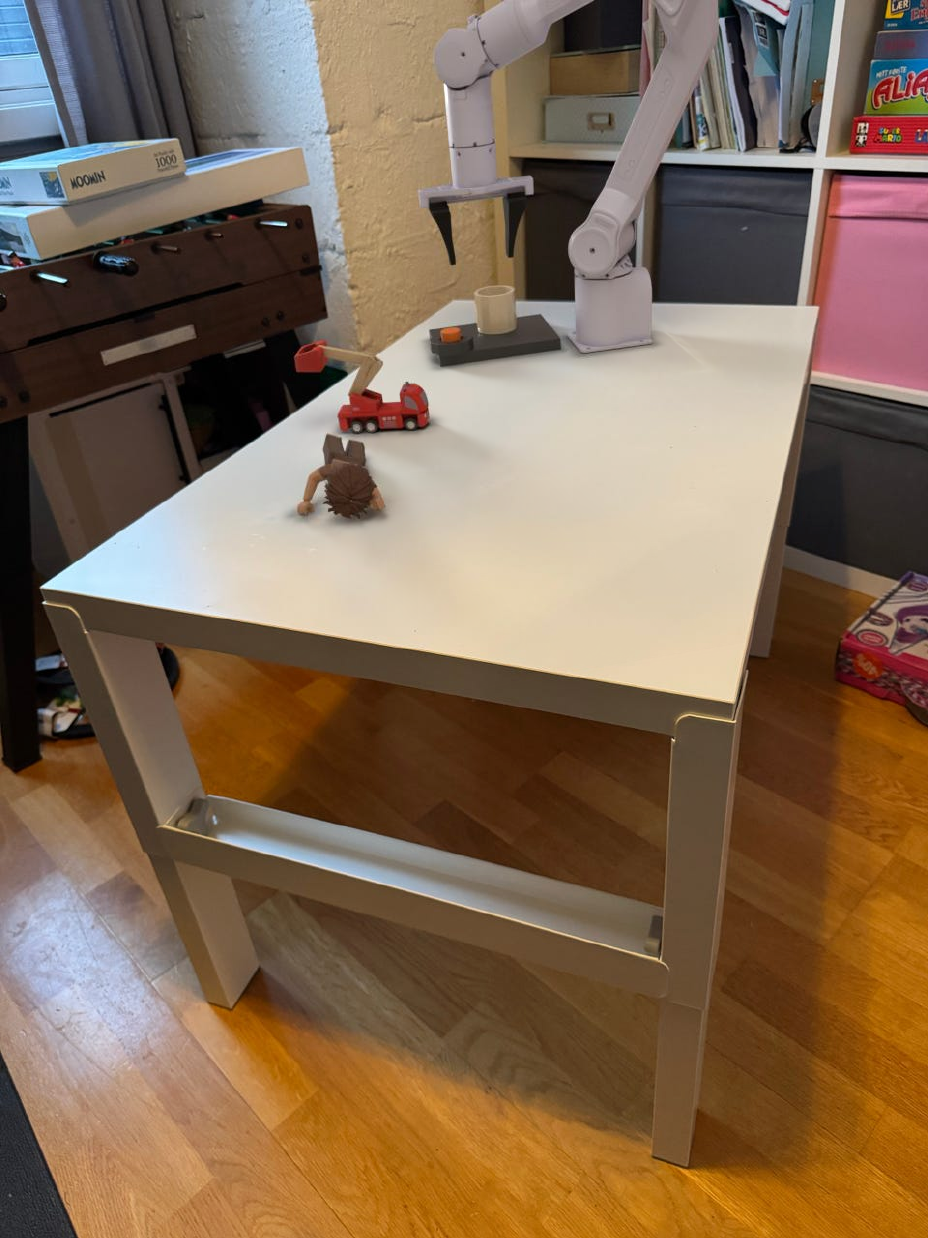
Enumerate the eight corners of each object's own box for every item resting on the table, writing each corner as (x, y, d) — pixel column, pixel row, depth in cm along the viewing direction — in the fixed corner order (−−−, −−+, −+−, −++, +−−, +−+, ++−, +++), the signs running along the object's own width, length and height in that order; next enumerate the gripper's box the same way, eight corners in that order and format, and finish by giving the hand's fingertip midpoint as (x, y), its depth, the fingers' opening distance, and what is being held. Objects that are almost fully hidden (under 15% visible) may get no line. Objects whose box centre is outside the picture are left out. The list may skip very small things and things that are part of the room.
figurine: (302, 487, 93) (304, 545, 80) (283, 441, 90) (281, 493, 77) (375, 462, 93) (388, 516, 80) (358, 415, 90) (369, 463, 77)
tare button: (459, 336, 116) (458, 325, 115) (462, 342, 113) (461, 331, 113) (440, 339, 115) (439, 328, 115) (442, 344, 113) (441, 334, 113)
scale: (541, 325, 125) (540, 303, 123) (562, 352, 115) (561, 328, 113) (424, 341, 124) (422, 319, 122) (435, 370, 113) (432, 347, 112)
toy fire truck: (428, 430, 97) (418, 343, 92) (309, 436, 99) (291, 351, 94) (432, 418, 100) (422, 333, 95) (315, 424, 102) (299, 341, 96)
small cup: (512, 320, 123) (510, 283, 120) (520, 331, 118) (518, 293, 115) (474, 325, 123) (471, 288, 120) (480, 336, 118) (477, 298, 115)
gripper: (416, 155, 105) (429, 273, 113) (535, 140, 106) (540, 259, 114) (412, 148, 111) (425, 261, 119) (525, 134, 112) (531, 247, 120)
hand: (481, 259), depth 117 cm, fingers open, 7 cm apart
